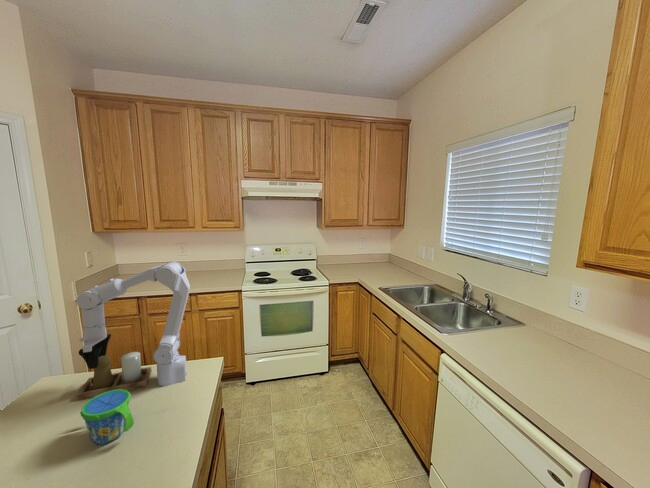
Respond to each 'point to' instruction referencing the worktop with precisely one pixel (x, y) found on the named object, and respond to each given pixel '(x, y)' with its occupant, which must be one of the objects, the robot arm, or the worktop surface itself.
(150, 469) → the worktop surface
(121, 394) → the snack cup
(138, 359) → the salt shaker
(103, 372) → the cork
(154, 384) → the worktop surface
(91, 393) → the caddy
